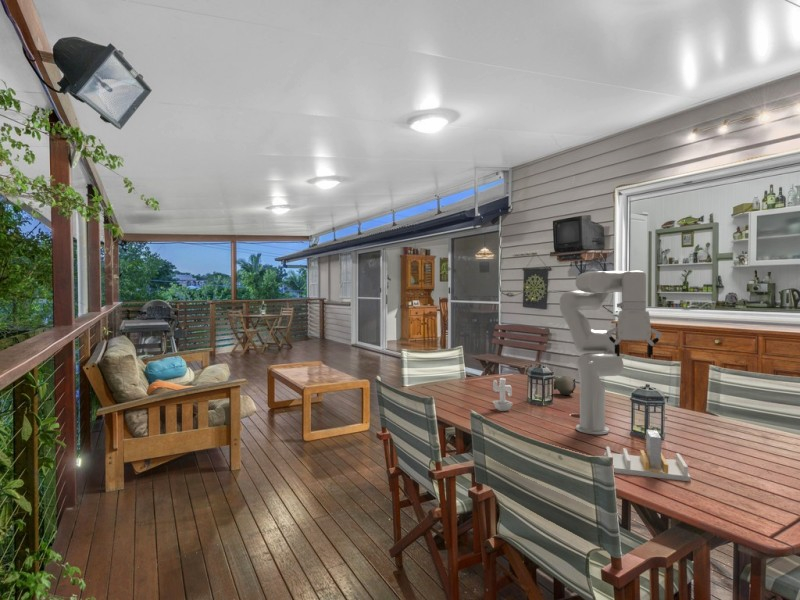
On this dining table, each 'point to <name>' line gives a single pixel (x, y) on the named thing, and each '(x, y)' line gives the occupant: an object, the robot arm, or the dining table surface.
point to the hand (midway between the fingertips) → (633, 356)
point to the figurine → (502, 395)
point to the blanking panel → (653, 449)
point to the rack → (641, 466)
